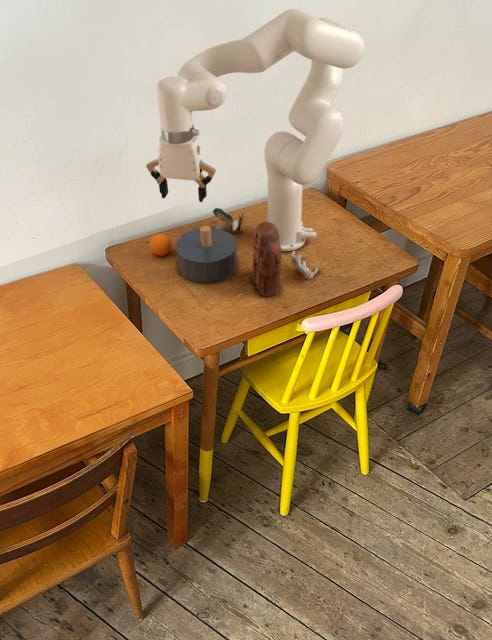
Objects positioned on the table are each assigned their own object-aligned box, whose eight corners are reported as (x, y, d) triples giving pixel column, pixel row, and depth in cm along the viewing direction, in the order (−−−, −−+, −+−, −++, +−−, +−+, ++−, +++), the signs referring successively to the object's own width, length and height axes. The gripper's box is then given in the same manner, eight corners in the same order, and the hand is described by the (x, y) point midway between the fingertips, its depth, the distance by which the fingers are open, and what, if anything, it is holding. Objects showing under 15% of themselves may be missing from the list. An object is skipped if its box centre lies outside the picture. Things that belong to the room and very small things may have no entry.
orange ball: (174, 248, 208) (172, 230, 204) (169, 260, 204) (167, 242, 200) (153, 246, 209) (151, 228, 205) (148, 258, 205) (146, 240, 200)
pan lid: (241, 233, 203) (241, 214, 199) (231, 268, 191) (230, 248, 187) (183, 229, 205) (182, 209, 201) (169, 262, 193) (167, 243, 189)
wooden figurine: (248, 273, 199) (247, 215, 187) (271, 270, 200) (272, 212, 188) (260, 299, 191) (260, 240, 179) (284, 295, 192) (285, 236, 180)
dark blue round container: (240, 252, 207) (240, 232, 202) (230, 285, 195) (230, 265, 191) (186, 247, 208) (184, 228, 204) (173, 280, 197) (171, 260, 193)
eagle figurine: (242, 219, 217) (212, 213, 217) (245, 208, 210) (213, 202, 210) (238, 242, 215) (208, 236, 215) (240, 233, 209) (209, 226, 208)
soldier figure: (308, 261, 205) (329, 272, 195) (299, 275, 205) (319, 287, 195) (289, 246, 201) (309, 256, 191) (279, 261, 201) (298, 272, 191)
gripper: (217, 128, 174) (220, 193, 185) (147, 123, 177) (155, 186, 188) (208, 143, 168) (213, 208, 180) (137, 137, 171) (145, 201, 183)
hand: (183, 197), depth 184 cm, fingers open, 9 cm apart
